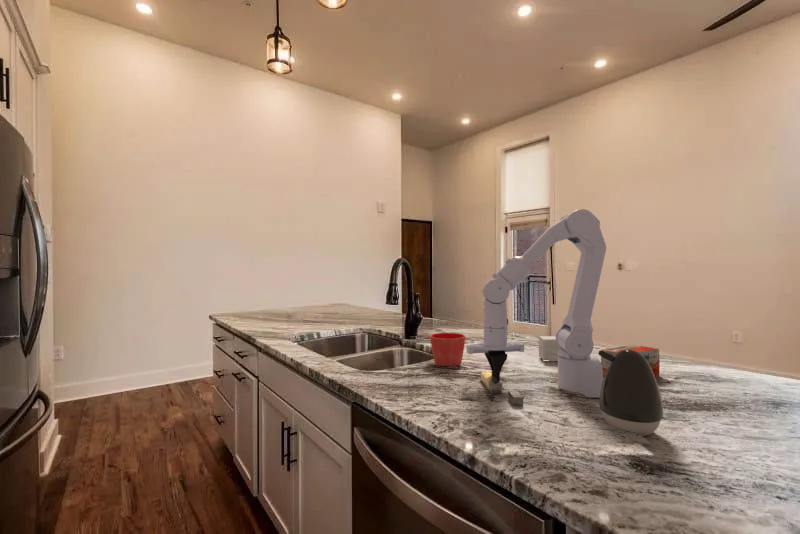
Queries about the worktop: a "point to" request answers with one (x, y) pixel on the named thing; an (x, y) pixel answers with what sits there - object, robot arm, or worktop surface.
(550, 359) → the product box
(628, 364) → the pump dispenser
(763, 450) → the worktop surface
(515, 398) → the block
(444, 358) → the flower pot
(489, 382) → the latch arm
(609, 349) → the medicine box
